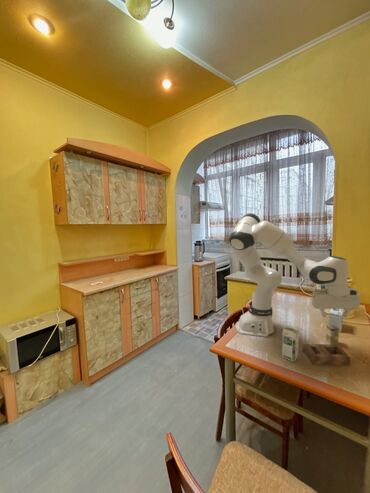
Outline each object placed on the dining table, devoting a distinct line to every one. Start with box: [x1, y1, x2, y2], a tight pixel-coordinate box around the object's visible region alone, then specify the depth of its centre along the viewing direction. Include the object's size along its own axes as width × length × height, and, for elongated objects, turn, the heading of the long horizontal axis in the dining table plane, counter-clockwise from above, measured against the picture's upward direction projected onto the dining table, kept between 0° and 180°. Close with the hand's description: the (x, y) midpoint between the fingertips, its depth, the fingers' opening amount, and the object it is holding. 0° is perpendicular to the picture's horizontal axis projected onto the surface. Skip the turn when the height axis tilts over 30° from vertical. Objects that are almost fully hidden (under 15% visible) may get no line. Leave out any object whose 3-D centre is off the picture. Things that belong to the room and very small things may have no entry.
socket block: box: [302, 343, 351, 366], centre depth 104 cm, size 16×10×4 cm, turn 84°
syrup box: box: [281, 325, 300, 363], centre depth 105 cm, size 6×6×14 cm
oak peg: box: [325, 324, 340, 346], centre depth 116 cm, size 4×4×9 cm
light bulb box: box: [327, 309, 345, 333], centre depth 131 cm, size 11×7×11 cm, turn 141°
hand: (334, 316), depth 108 cm, fingers open, 8 cm apart
